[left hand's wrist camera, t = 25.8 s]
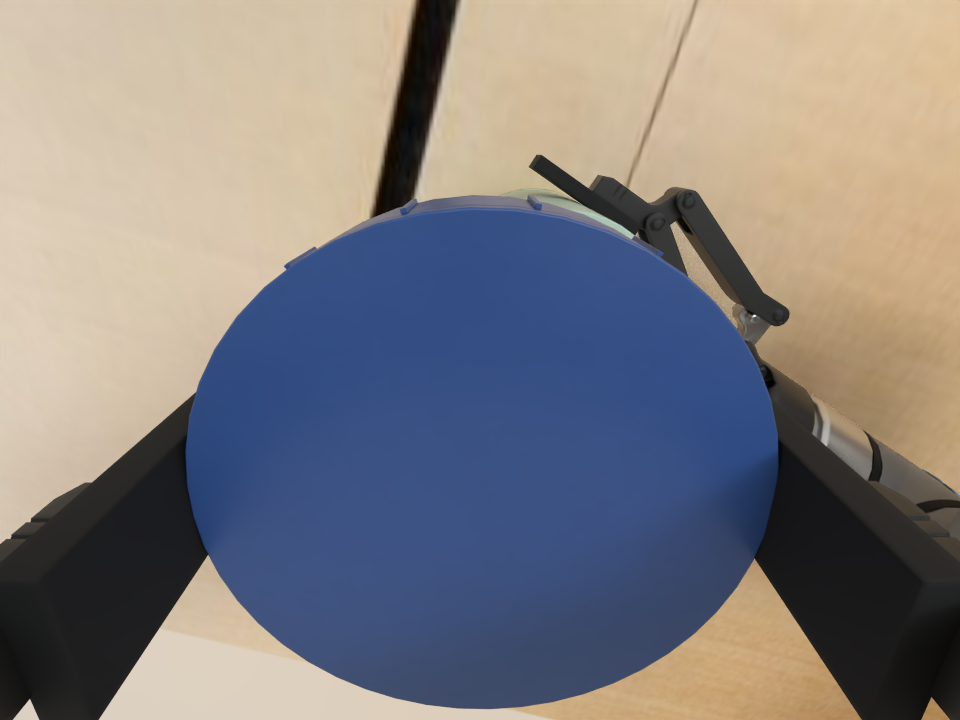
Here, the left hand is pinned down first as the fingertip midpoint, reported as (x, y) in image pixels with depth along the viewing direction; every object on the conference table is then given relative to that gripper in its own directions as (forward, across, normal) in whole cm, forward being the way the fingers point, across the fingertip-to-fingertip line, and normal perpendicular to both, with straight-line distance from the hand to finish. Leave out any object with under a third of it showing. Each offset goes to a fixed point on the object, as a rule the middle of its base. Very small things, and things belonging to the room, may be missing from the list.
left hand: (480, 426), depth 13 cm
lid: (-3, 0, 0) cm, 3 cm away
